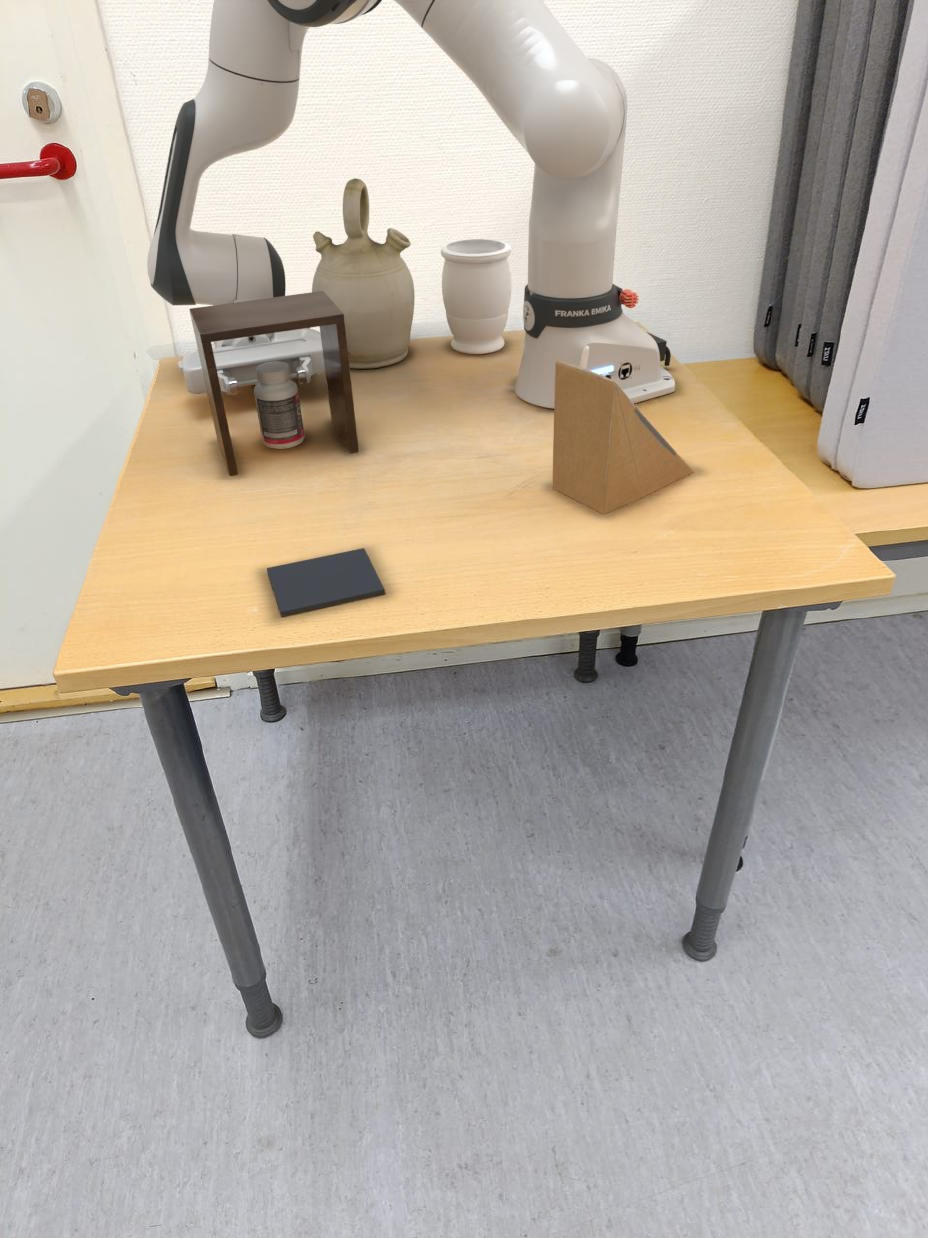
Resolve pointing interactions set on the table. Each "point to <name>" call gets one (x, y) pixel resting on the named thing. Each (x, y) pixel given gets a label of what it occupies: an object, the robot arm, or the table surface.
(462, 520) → the table surface
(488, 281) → the jar
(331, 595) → the pad
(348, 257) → the jug
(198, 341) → the arch
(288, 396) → the pill bottle
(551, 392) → the robot arm
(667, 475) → the sandwich container
